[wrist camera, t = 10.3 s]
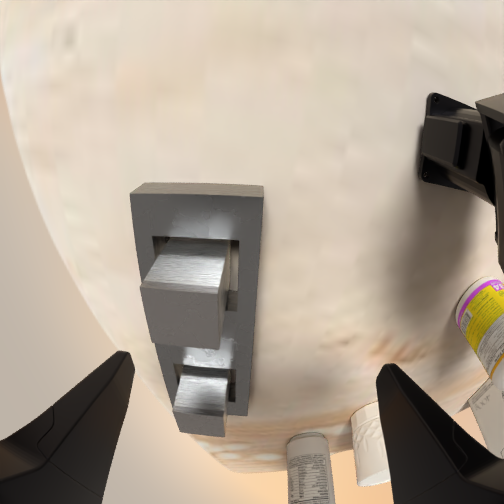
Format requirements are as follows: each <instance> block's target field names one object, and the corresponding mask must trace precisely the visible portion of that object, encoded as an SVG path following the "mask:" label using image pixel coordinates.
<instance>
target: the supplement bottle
mask: <svg viewBox="0 0 504 504" xmlns="http://www.w3.org/2000/svg"><path fill="white" fill-rule="evenodd" d="M456 323H457V325H458V327H459V328H460V330H461V331H462V333H463V334H464V336H465V337H466V339H467V340H468V342H469V344H470V345H471V347H472V348H473V350H474V352H475V353H476V355H477V356H478V358H479V360H480V361H481V363H482V365H483V366H484V368H485V370H486V372H487V373H488V375H489V377H490V379H491V381H492V382H493V384H494V386H495V387H496V388H497V389H498V390H500V391H504V284H503V283H502V282H501V281H500V280H499V279H497V278H495V277H492V276H487V277H484V278H481V279H480V280H478V281H476V282H475V283H474V284H473V285H472V286H471V287H470V288H469V289H468V290H467V291H466V292H465V294H464V295H463V297H462V298H461V300H460V302H459V304H458V306H457V310H456Z"/></svg>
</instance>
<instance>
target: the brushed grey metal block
mask: <svg viewBox="0 0 504 504" xmlns="http://www.w3.org/2000/svg"><path fill="white" fill-rule="evenodd" d="M230 380H231V371H230V369H223V368H211V367H201V366H192V365H184V367H183V371H182V375H181V379H180V383H179V387H178V391H177V395H176V399H175V403H174V407H173V414H174V417H175V419H176V422H177V425H178V427H179V430H180V432H184V433H191V434H198V435H207V436H217V437H225V430H226V420H227V410H228V400H229V390H230Z"/></svg>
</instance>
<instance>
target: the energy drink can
mask: <svg viewBox="0 0 504 504" xmlns="http://www.w3.org/2000/svg"><path fill="white" fill-rule="evenodd" d="M287 471H288V503H289V504H335V495H334V486H333V477H332V469H331V460H330V453H329V445H328V440H327V439H325V438H324V436H323V435H322V434H319V433H304V434H300V435H297V436H294V437H293V438H292V439H291V440H290V443H289V444H288V445H287Z"/></svg>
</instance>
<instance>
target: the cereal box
mask: <svg viewBox="0 0 504 504" xmlns="http://www.w3.org/2000/svg"><path fill="white" fill-rule="evenodd" d="M468 403H469V405H470V407H471V409H472V412H473V414H474V416H475V418H476V421H477V423H478V425H479V428H480V430H481V433H482V435H483V438H484V440H485V443H486V445H487V448H488V450H489V451H490V452H491V453H493V454H494V455H495V456H497V457H499V458H502V459H504V391H500V390H498V389H497V388H496V387H495V386H494V384H493V382H492V381H491V379H490V378H489V379H488V380H487V381H486V382H485V383H484V384H483V385H482V386H481V387H480V389H479V390H478V391H477V392H476V393H475V394H474V395H473V396H472V397H471V398H470V399H469V400H468Z"/></svg>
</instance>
